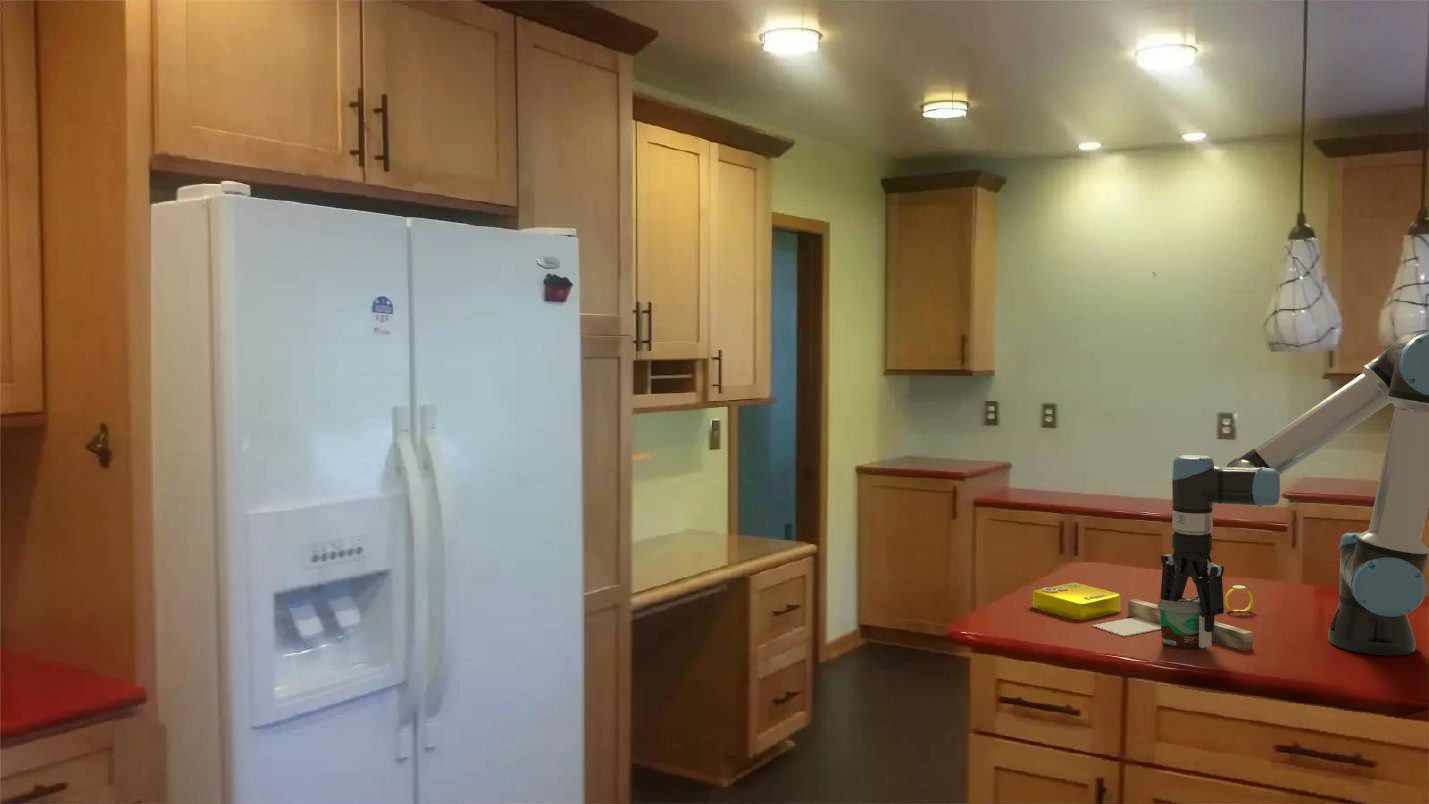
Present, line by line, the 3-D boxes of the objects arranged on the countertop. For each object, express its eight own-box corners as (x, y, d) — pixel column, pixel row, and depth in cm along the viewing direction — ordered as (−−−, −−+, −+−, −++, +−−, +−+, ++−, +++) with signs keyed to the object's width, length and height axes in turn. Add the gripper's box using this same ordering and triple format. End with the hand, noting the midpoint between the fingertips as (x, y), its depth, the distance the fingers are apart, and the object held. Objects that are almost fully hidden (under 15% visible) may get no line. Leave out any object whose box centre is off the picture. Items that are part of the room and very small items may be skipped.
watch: (1228, 614, 243) (1226, 589, 242) (1223, 611, 246) (1222, 586, 245) (1255, 613, 242) (1254, 587, 242) (1251, 609, 245) (1249, 584, 245)
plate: (1167, 628, 232) (1167, 627, 232) (1123, 637, 226) (1123, 635, 226) (1135, 618, 240) (1135, 617, 240) (1092, 626, 235) (1092, 625, 235)
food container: (1181, 655, 214) (1181, 606, 213) (1157, 646, 219) (1157, 599, 218) (1225, 646, 219) (1225, 598, 218) (1200, 638, 224) (1201, 591, 223)
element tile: (1079, 623, 239) (1079, 602, 239) (1028, 608, 252) (1028, 588, 252) (1124, 612, 247) (1124, 592, 246) (1073, 599, 260) (1073, 579, 259)
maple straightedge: (1252, 648, 217) (1252, 631, 216) (1242, 650, 215) (1242, 634, 215) (1136, 614, 244) (1136, 599, 243) (1126, 615, 242) (1126, 600, 242)
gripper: (1141, 525, 224) (1140, 633, 226) (1219, 541, 207) (1218, 657, 209) (1167, 522, 227) (1166, 628, 229) (1246, 537, 210) (1244, 651, 212)
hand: (1190, 641), depth 219 cm, fingers closed on food container, 6 cm apart
